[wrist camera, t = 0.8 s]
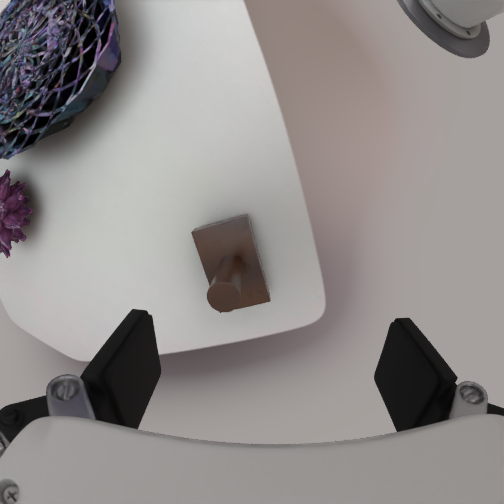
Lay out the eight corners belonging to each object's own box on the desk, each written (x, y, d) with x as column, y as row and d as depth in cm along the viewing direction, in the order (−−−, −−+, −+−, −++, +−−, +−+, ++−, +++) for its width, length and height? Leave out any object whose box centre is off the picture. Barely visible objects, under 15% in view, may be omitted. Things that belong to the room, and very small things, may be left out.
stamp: (198, 225, 30) (170, 252, 21) (248, 211, 29) (241, 232, 20) (223, 299, 32) (209, 349, 23) (269, 288, 32) (272, 337, 22)
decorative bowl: (26, 184, 30) (-21, 201, 21) (0, 49, 21) (-39, 44, 12) (171, 93, 27) (137, 74, 18) (123, -45, 18) (95, -76, 8)
